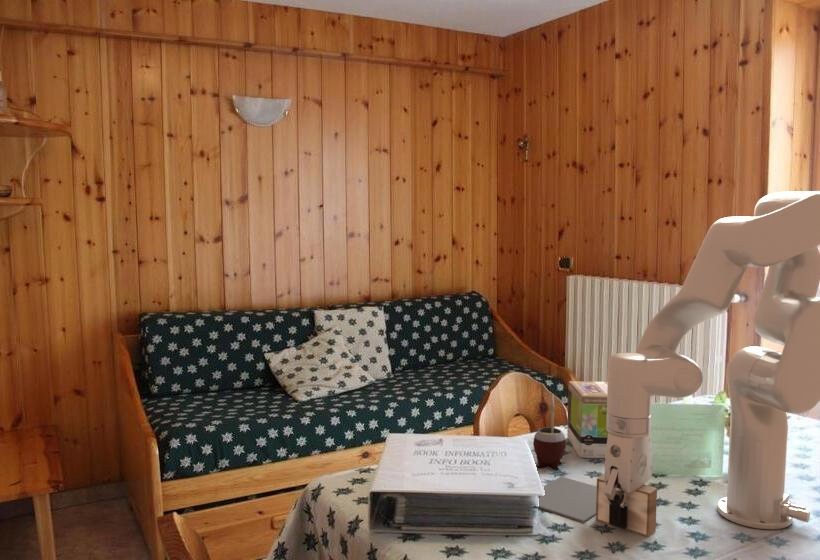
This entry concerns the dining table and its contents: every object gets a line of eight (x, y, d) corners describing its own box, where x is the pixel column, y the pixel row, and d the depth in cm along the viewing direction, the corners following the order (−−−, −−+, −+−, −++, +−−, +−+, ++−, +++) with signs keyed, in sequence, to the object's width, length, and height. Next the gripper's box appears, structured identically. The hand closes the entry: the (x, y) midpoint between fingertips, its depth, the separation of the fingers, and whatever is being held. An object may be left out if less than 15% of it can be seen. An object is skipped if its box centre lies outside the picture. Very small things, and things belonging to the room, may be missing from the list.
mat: (623, 496, 140) (623, 494, 140) (584, 522, 128) (584, 520, 128) (561, 478, 150) (561, 476, 149) (519, 501, 138) (519, 499, 138)
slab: (655, 531, 125) (657, 488, 124) (648, 537, 123) (649, 493, 122) (603, 515, 132) (604, 473, 131) (595, 520, 130) (596, 478, 129)
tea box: (623, 459, 161) (625, 396, 159) (579, 459, 161) (580, 395, 160) (606, 437, 176) (608, 379, 174) (566, 437, 176) (567, 379, 174)
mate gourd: (545, 473, 152) (546, 406, 151) (524, 461, 159) (525, 397, 158) (573, 468, 155) (575, 401, 154) (551, 456, 162) (553, 393, 161)
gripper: (627, 439, 117) (623, 544, 118) (668, 416, 129) (664, 511, 131) (585, 429, 122) (583, 530, 123) (629, 408, 134) (626, 500, 136)
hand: (625, 519), depth 127 cm, fingers open, 5 cm apart
